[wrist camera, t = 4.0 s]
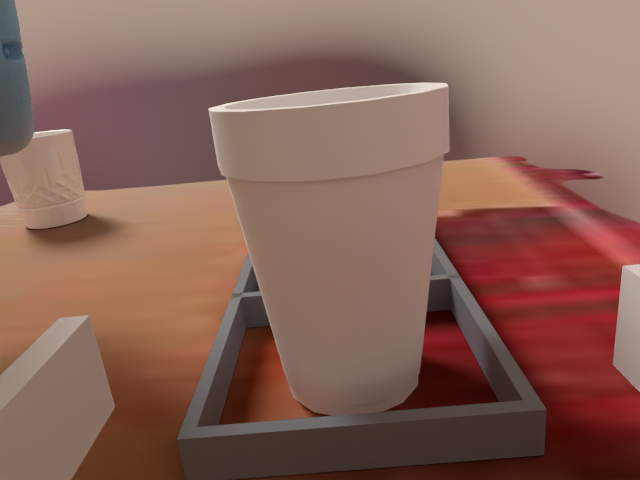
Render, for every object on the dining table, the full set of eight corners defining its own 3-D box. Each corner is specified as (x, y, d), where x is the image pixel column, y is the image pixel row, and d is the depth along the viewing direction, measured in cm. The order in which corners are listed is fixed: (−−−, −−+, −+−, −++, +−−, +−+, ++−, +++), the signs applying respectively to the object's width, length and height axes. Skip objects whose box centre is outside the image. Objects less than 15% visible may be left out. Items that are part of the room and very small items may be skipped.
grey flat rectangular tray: (544, 455, 18) (546, 409, 18) (186, 482, 19) (176, 439, 18) (400, 202, 52) (399, 183, 51) (272, 214, 52) (270, 196, 52)
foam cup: (285, 325, 30) (253, 96, 25) (447, 325, 28) (442, 78, 23) (227, 438, 21) (164, 119, 17) (458, 451, 19) (454, 93, 15)
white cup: (43, 234, 54) (15, 140, 51) (6, 228, 58) (-22, 141, 55) (107, 213, 60) (86, 128, 57) (69, 209, 64) (48, 129, 61)
